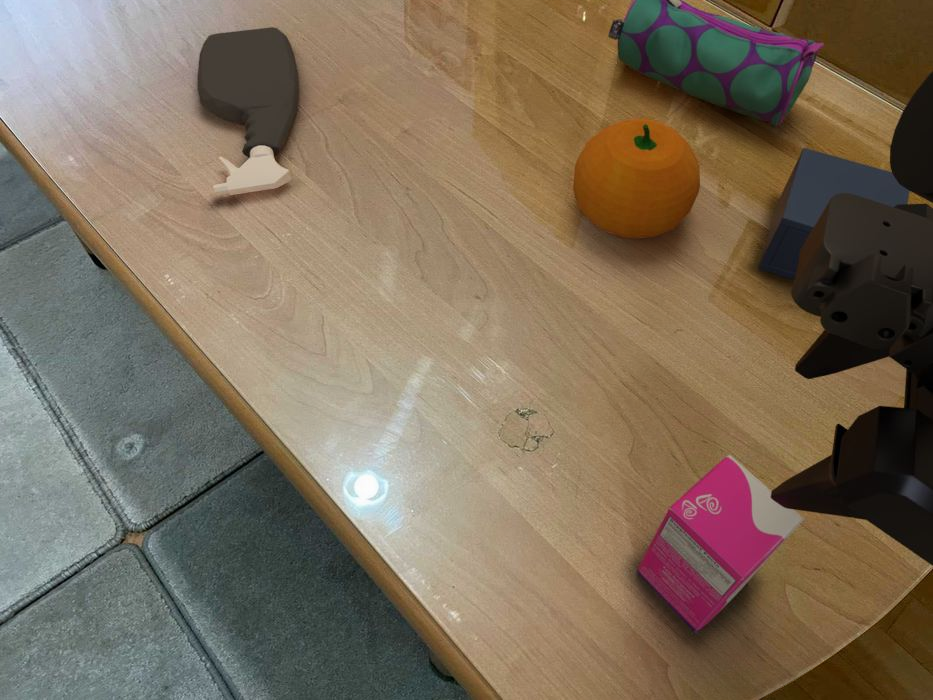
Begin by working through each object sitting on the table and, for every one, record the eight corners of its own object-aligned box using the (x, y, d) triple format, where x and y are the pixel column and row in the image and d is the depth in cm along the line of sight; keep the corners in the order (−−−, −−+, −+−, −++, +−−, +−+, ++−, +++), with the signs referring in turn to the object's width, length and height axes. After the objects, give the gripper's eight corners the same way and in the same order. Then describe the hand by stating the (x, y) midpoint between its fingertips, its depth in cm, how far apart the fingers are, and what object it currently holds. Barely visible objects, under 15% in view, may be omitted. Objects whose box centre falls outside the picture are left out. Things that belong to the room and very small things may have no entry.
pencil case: (600, 74, 86) (614, -6, 78) (637, 38, 90) (654, -42, 82) (771, 147, 79) (806, 67, 71) (803, 104, 83) (839, 23, 75)
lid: (800, 153, 70) (803, 147, 69) (908, 184, 68) (912, 177, 67) (779, 224, 65) (782, 217, 64) (894, 259, 62) (899, 253, 62)
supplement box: (685, 520, 56) (731, 450, 46) (749, 582, 53) (812, 521, 44) (631, 569, 53) (668, 506, 44) (695, 636, 51) (748, 584, 41)
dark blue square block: (777, 201, 74) (799, 156, 70) (877, 231, 72) (907, 186, 67) (757, 268, 69) (779, 224, 65) (863, 302, 67) (894, 259, 62)
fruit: (574, 254, 70) (590, 173, 62) (563, 168, 77) (575, 85, 69) (699, 253, 70) (731, 172, 62) (676, 167, 77) (702, 84, 69)
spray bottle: (295, 46, 88) (315, 192, 75) (200, 56, 87) (204, 207, 74) (290, 23, 86) (310, 170, 73) (193, 33, 85) (195, 185, 71)
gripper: (934, 44, 34) (707, 245, 46) (921, 320, 22) (624, 488, 35) (1121, 187, 34) (849, 346, 47) (1199, 522, 23) (813, 616, 36)
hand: (789, 432), depth 41 cm, fingers open, 9 cm apart
